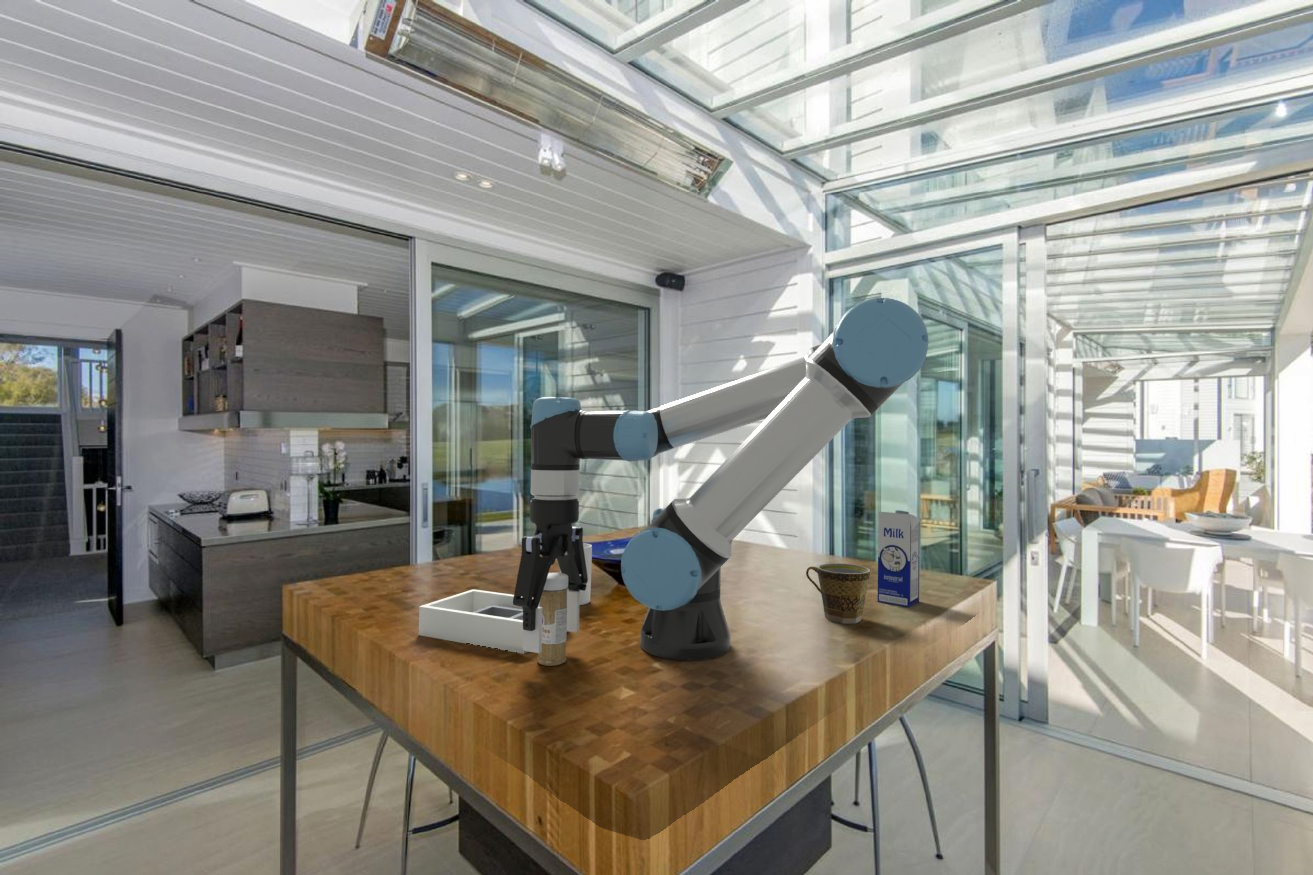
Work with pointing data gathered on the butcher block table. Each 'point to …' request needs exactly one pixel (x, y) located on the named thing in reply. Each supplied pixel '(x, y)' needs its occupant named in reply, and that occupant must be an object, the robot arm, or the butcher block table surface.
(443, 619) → the tray
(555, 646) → the sprinkles bottle
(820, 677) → the butcher block table surface
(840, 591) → the ceramic cup
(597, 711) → the butcher block table surface
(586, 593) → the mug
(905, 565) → the milk carton
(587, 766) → the butcher block table surface
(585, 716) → the butcher block table surface
